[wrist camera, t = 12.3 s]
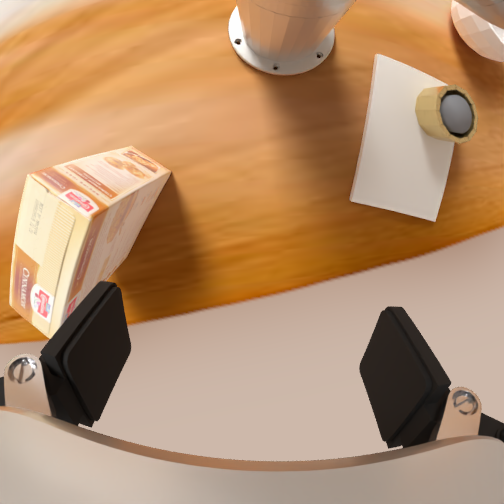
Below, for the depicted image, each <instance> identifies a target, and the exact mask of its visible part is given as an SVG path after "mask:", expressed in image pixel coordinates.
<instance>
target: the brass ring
mask: <svg viewBox="0 0 504 504" xmlns="http://www.w3.org/2000/svg"><path fill="white" fill-rule="evenodd" d="M445 95H458V96H461V97H462V98H463V99H464V100H465V101H466V102H467V103H468V105H469V107H470V110H471V114H472V122H471V126H470V128H469V129H468V130H467V131H466V132H465V133H455V132H448V130H447V129H446V127H445V126H444V125H443V122H442V118H441V114H440V103H441V98H442V97H443V96H445ZM415 113H416V116H417V120H418V123H419V125H420V127H421V128H422V129H423V130H424V131H425V133H426V134H427V135H428V136H430V137H433V138H435V139H438V140H443V141H448V142H454V143H459V144H460V143H464V142H467V141H470V140H471V138H472V137H473V135H474V134H475V132H476V129H477V122H478V115H477V111H476V107H475V103H474V102H473V100H472V99H471V97H470V96H469V94H468V93H467V91H466V90H464V89H462V88H460V87H459V86H457V85H447V86H438V87H431V88H425V89H423V90H422V92H421V93H420V94H419V95H418V96H417V99H416V106H415Z"/></svg>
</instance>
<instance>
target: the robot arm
mask: <svg viewBox="0 0 504 504" xmlns="http://www.w3.org/2000/svg"><path fill="white" fill-rule="evenodd" d="M355 1H356V0H236V3H237V6H236V8H235V9H234V11H233V12H232V14H231V17H230V20H229V26H228V32H229V38H230V41H231V44H232V46H233V48H234V50H235V52H236V53H237V54H238V55H239V56H240V58H241V59H242V60H244V61H245V62H246V63H247V64H249V65H250V66H252V67H254V68H256V69H257V70H260V71H263V72H265V73H269V74H274V75H286V76H288V75H297V74H301V73H304V72H307V71H309V70H311V69H313V68H315V67H316V66H318V65H319V64H320V63H322V62H323V61H324V60H325V59H326V58H327V56H328V55H329V53H330V52H331V50H332V47H333V44H334V39H335V32H334V26H335V25H336V24H337V23H338V22H339V20H340V19H341V18H342V17H343V15H344V14H345V13H346V12H347V11H348V10H349V8H350V7H351V6H352V5H353V4H354V2H355ZM454 1H456V2H457V3H459V4H461V5H462V6H464V7H465V8H467V9H468V10H470V11H471V12H473V13H474V14H476V15H478V16H479V17H481V18H482V19H484V20H486V21H487V22H489V23H491V24H493V25H495V26H497V27H499V28H501V29H504V0H454ZM237 42H240V43H241V44H240V45H237V44H236V43H237ZM317 55H319V56H320V58H317ZM274 67H277V68H278V69H277V70H274V69H273V68H274ZM130 351H131V342H130V338H129V333H128V328H127V323H126V317H125V312H124V306H123V300H122V294H121V289H120V288H119V287H117V285H116V284H115V283H113V282H106V281H100V282H98V283H97V285H96V286H95V287H94V288H93V289H92V290H91V291H90V292H89V294H88V295H87V296H86V297H85V298H84V299H83V300H82V301H81V303H80V304H79V305H78V306H77V307H76V308H75V310H74V311H73V312H72V313H71V314H70V316H69V317H68V318H67V319H66V320H65V322H64V323H63V324H62V325H61V326H60V328H59V329H58V330H57V331H56V333H55V334H54V335H53V336H52V338H51V339H50V340H49V341H48V343H47V344H46V345H45V347H44V348H43V349H42V351H41V354H42V355H41V356H40V358H39V359H38V358H37V357H36V356H34V355H31V354H22V355H18V356H16V357H14V358H13V359H11V360H10V361H9V362H8V363H7V365H6V367H5V370H4V377H1V378H0V504H504V423H502V422H500V421H498V420H495V419H493V418H491V417H489V416H487V415H485V414H483V413H481V402H480V399H479V398H478V396H477V395H476V394H475V393H474V392H473V391H471V390H469V389H467V388H464V387H457V388H454V389H452V391H450V390H449V388H448V387H449V386H450V384H451V381H450V380H449V378H448V376H447V375H446V373H445V371H444V370H443V368H442V366H441V365H440V363H439V361H438V360H437V358H436V357H435V355H434V353H433V352H432V350H431V349H430V347H429V346H428V344H427V342H426V341H425V339H424V338H423V336H422V335H421V333H420V332H419V330H418V329H417V327H416V326H415V324H414V323H413V322H412V320H411V319H410V317H409V316H408V314H407V313H406V311H405V310H404V309H403V308H402V307H387V308H386V309H385V310H384V311H382V312H381V314H380V316H379V319H378V322H377V324H376V327H375V329H374V332H373V334H372V337H371V339H370V342H369V344H368V346H367V349H366V352H365V353H364V356H363V358H362V360H361V363H360V374H361V377H362V379H363V382H364V385H365V388H366V391H367V394H368V397H369V400H370V403H371V405H372V409H373V412H374V415H375V418H376V421H377V424H378V428H379V431H380V434H381V437H382V440H383V441H386V443H387V446H388V448H393V447H397V446H401V445H402V446H403V448H402V449H397V450H392V451H387V452H382V453H375V454H370V455H363V456H355V457H347V458H338V459H327V460H313V461H276V462H274V461H245V460H232V459H221V458H211V457H203V456H196V455H189V454H183V453H177V452H171V451H166V450H161V449H156V448H151V447H147V446H143V445H139V444H135V443H131V442H127V441H124V440H120V439H117V438H113V437H110V436H106V435H103V434H100V433H97V432H94V431H90V430H87V429H84V428H81V427H79V426H78V424H79V423H80V424H83V425H85V426H88V427H92V425H93V423H94V421H98V420H99V419H100V416H101V414H102V412H103V410H104V407H105V405H106V403H107V401H108V398H109V396H110V394H111V392H112V390H113V388H114V386H115V383H116V381H117V379H118V377H119V375H120V373H121V371H122V368H123V366H124V364H125V362H126V360H127V358H128V356H129V354H130Z"/></svg>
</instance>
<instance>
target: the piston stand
mask: <svg viewBox="0 0 504 504" xmlns="http://www.w3.org/2000/svg"><path fill="white" fill-rule="evenodd" d="M438 86H447V84H445V83H444V82H442V81H440V80H438V79H436V78H434V77H432V76H430V75H428V74H426V73H424V72H421V71H419V70H417V69H415V68H413V67H410V66H408V65H406V64H403V63H401V62H399V61H396V60H394V59H391V58H389V57H386V56H383V55H381V54H376V55H375V58H374V66H373V74H372V82H371V89H370V96H369V102H368V109H367V115H366V120H365V126H364V132H363V137H362V142H361V148H360V153H359V157H358V162H357V167H356V172H355V176H354V181H353V185H352V190H351V194H350V198H349V200H350V201H351V202H356V203H361V204H365V205H370V206H374V207H378V208H383V209H387V210H391V211H395V212H399V213H403V214H407V215H411V216H415V217H419V218H423V219H427V220H430V221H434V222H435V221H436V218H437V214H438V211H439V207H440V204H441V200H442V197H443V193H444V189H445V185H446V181H447V177H448V173H449V168H450V163H451V159H452V154H453V148H454V142H448V141H443V140H438V139H435V138H433V137H430V136H428V135H427V134H426V133H425V131H424V130H423V129H422V128H421V127H420V125H419V123H418V120H417V116H416V113H415V106H416V99H417V96H418V95H419V94H420V93H421V92H422V90H423V89H425V88H431V87H438ZM440 114H441V118H442V122H443V125H444V126H445V127H446V129H447V130H448V132H455V133H465V132H466V131H467V130H468V129H469V128H470V126H471V122H472V114H471V110H470V107H469V105H468V103H467V102H466V101H465V100H464V99H463V98H462V97H461V96H458V95H445V96H443V97H442V98H441V103H440Z"/></svg>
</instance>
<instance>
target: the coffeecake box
mask: <svg viewBox="0 0 504 504" xmlns="http://www.w3.org/2000/svg"><path fill="white" fill-rule="evenodd" d="M170 174H171V171H170V170H168V169H167V168H165V167H164V166H162V165H161V164H159V163H157V162H156V161H154V160H153V159H151V158H149V157H148V156H146V155H145V154H143V153H142V152H140V151H139V150H137V149H135V148H134V147H132V146H130V147H126V148H121V149H116V150H112V151H108V152H104V153H99V154H95V155H91V156H88V157H84V158H80V159H76V160H73V161H69V162H66V163H63V164H59V165H56V166H52V167H49V168H46V169H43V170H40V171H37V172H34V173H31V174H28V175H27V179H26V183H25V187H24V191H23V195H22V200H21V204H20V209H19V215H18V220H17V226H16V233H15V240H14V247H13V256H12V267H11V281H10V305H11V306H12V308H13V309H14V310H16V311H17V312H18V313H19V314H20V315H21V316H22V317H24V318H25V319H26V320H27V321H28V322H30V323H31V324H32V325H34V326H35V327H36V328H37V329H38V330H40V331H41V332H42V333H43V334H45V335H46V336H47V337H48V338H50V339H51V338H52V336H53V335H54V334H55V333H56V331H57V330H58V329H59V328H60V326H61V325H62V324H63V323H64V322H65V320H66V319H67V318H68V317H69V316H70V314H71V313H72V312H73V311H74V310H75V308H76V307H77V306H78V305H79V304H80V303H81V301H82V300H83V299H84V298H85V297H86V296H87V295H88V294H89V292H90V291H91V290H92V289H93V288H94V287H95V286H96V285H97V283H98V282H100V281H106V280H107V279H108V278H109V277H110V276H111V275H112V273H113V272H114V271H115V270H116V269H117V268H118V267H119V266H120V264H121V263H122V262H123V261H124V260H125V259H126V258H127V256H128V254H129V252H130V250H131V248H132V246H133V244H134V242H135V240H136V238H137V236H138V234H139V232H140V230H141V228H142V226H143V224H144V222H145V220H146V218H147V216H148V214H149V212H150V211H151V209H152V207H153V205H154V203H155V201H156V199H157V198H158V196H159V194H160V192H161V190H162V188H163V187H164V185H165V183H166V181H167V180H168V178H169V176H170Z"/></svg>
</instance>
